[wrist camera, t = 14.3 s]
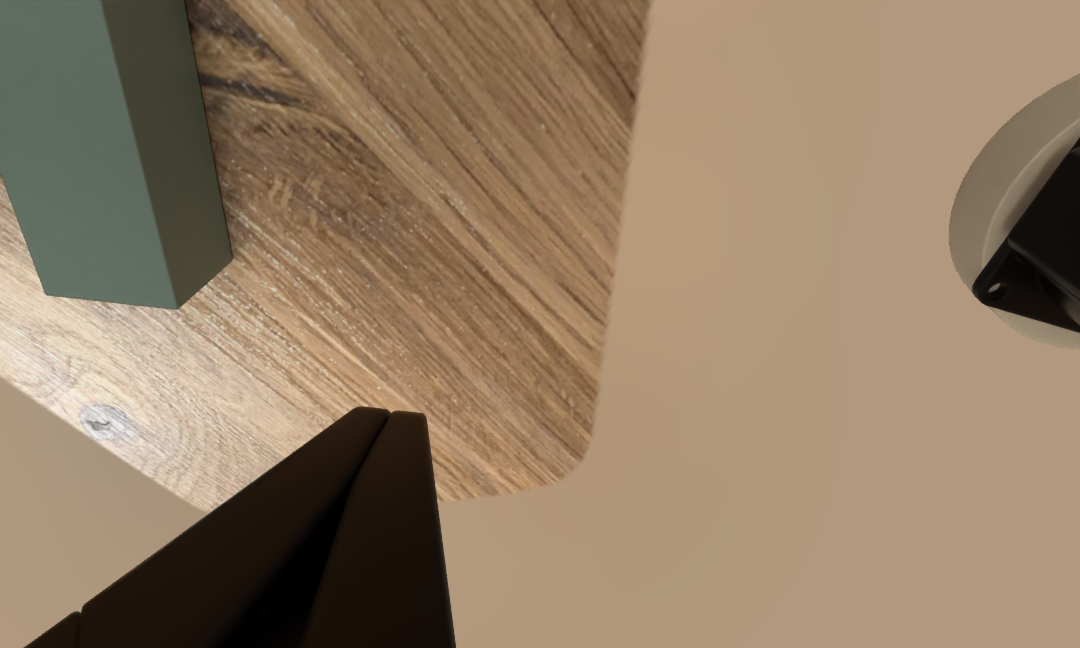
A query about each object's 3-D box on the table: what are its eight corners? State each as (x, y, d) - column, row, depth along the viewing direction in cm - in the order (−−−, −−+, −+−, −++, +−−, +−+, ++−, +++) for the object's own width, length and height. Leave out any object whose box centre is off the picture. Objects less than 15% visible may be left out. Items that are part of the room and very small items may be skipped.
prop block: (168, -89, 16) (76, -94, 13) (233, 260, 22) (177, 310, 19) (16, -104, 16) (-108, -112, 14) (118, 248, 22) (44, 295, 19)
